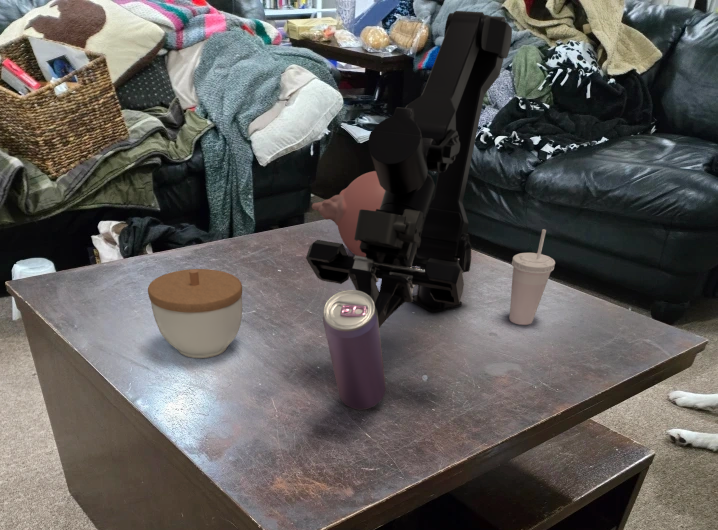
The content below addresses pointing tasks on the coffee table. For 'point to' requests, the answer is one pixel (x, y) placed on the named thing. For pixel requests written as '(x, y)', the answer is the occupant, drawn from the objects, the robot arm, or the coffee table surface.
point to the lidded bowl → (197, 310)
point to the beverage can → (355, 348)
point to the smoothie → (529, 283)
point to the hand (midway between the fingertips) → (365, 338)
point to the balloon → (352, 207)
